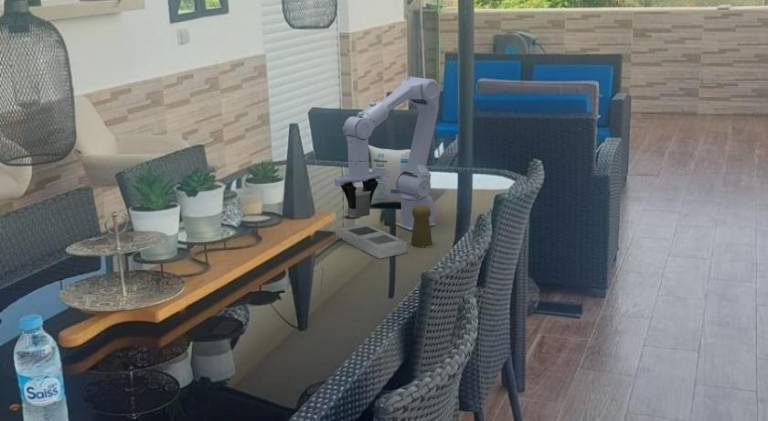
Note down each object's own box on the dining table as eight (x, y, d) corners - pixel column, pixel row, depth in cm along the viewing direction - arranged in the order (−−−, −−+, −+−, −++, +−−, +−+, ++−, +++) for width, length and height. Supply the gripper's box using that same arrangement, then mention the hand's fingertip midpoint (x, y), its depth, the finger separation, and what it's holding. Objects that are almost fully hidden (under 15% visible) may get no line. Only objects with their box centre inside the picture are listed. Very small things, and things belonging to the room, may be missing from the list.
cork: (430, 247, 252) (430, 209, 249) (409, 246, 253) (408, 208, 250) (433, 241, 258) (433, 203, 255) (412, 240, 259) (412, 203, 256)
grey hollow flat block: (365, 233, 266) (365, 223, 265) (407, 252, 248) (407, 242, 248) (338, 238, 262) (338, 228, 261) (379, 258, 244) (379, 248, 243)
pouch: (423, 211, 288) (423, 149, 282) (365, 208, 293) (364, 147, 287) (429, 204, 295) (428, 144, 289) (372, 201, 300) (371, 142, 295)
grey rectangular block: (361, 210, 262) (362, 186, 259) (370, 215, 258) (370, 190, 255) (347, 213, 259) (347, 188, 257) (355, 217, 255) (355, 193, 253)
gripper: (373, 154, 260) (374, 199, 264) (328, 160, 253) (330, 207, 257) (386, 158, 255) (387, 205, 258) (341, 165, 247) (342, 213, 251)
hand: (359, 206), depth 257 cm, fingers closed on grey rectangular block, 5 cm apart
